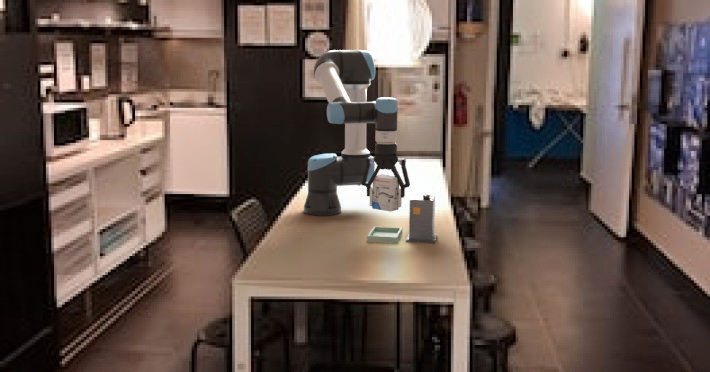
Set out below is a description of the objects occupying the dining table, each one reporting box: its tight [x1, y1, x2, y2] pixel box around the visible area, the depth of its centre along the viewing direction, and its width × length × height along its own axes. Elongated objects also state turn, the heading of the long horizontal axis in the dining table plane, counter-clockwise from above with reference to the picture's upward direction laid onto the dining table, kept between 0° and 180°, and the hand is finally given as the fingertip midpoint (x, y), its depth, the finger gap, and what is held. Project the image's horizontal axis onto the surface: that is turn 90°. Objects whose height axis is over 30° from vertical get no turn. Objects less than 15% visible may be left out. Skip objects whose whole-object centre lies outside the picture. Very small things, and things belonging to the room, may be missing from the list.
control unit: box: [405, 194, 438, 244], centre depth 274 cm, size 10×10×16 cm
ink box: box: [371, 174, 400, 212], centre depth 275 cm, size 9×5×12 cm, turn 52°
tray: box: [366, 225, 403, 244], centre depth 278 cm, size 10×14×2 cm
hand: (385, 206), depth 276 cm, fingers closed on ink box, 9 cm apart
